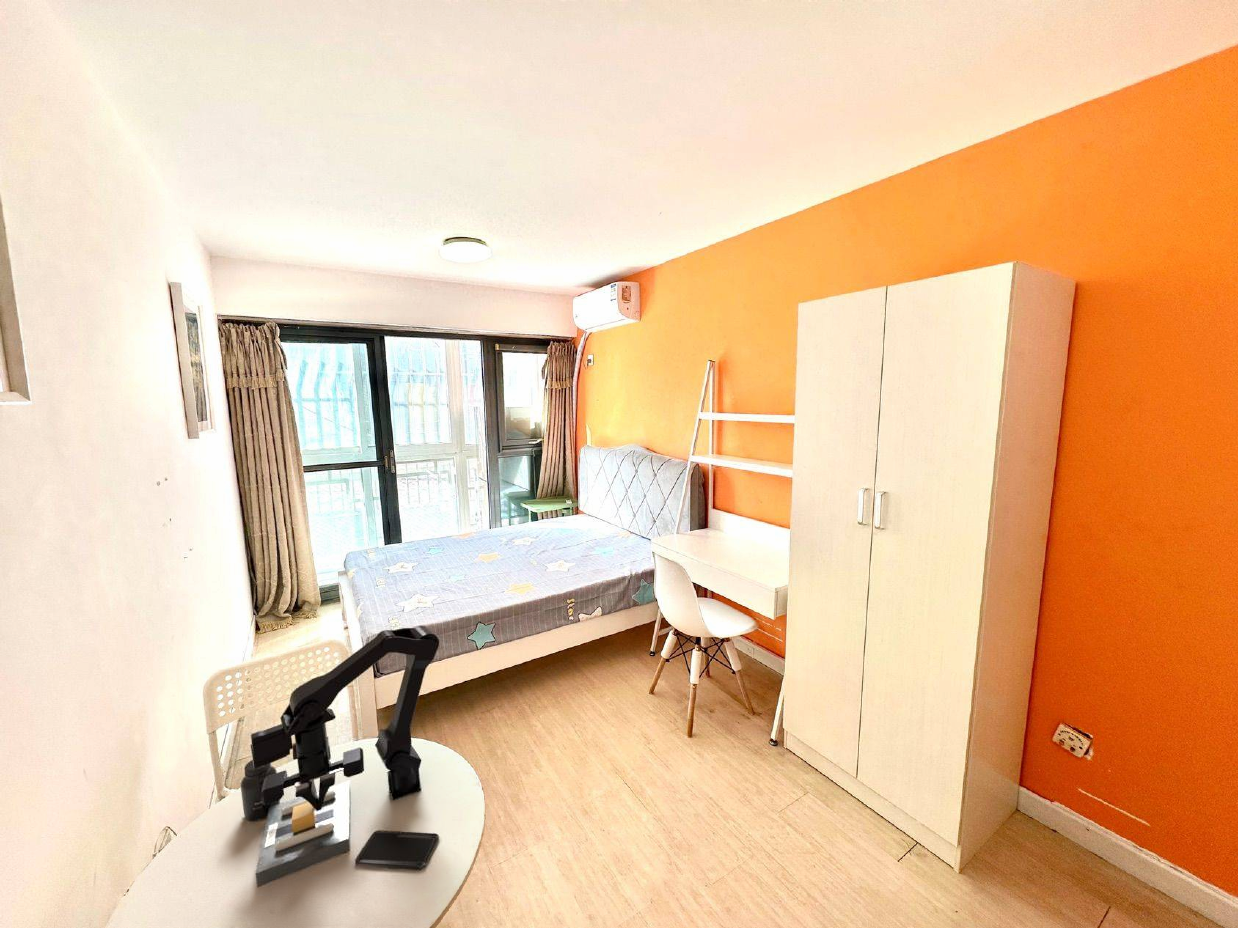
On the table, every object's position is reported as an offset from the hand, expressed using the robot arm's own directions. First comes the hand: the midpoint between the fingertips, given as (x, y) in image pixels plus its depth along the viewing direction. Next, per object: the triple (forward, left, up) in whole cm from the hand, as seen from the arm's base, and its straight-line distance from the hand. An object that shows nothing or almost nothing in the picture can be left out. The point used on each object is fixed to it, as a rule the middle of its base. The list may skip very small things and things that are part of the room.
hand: (319, 808), depth 109 cm
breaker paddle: (+3, 0, -2) cm, 3 cm away
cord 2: (+2, -5, -2) cm, 6 cm away
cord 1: (+2, +5, -2) cm, 6 cm away
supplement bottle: (+12, -13, -5) cm, 19 cm away
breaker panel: (+2, 0, -5) cm, 6 cm away
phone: (-15, +14, -6) cm, 21 cm away
